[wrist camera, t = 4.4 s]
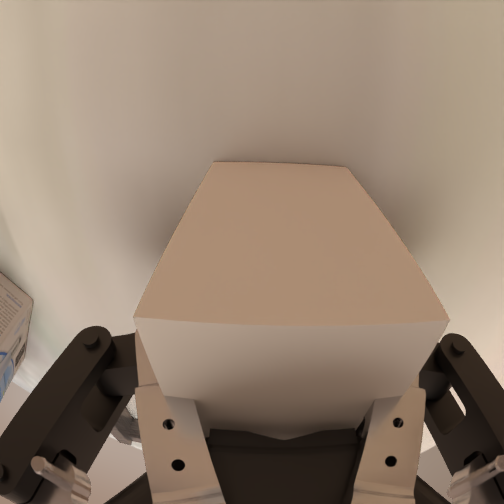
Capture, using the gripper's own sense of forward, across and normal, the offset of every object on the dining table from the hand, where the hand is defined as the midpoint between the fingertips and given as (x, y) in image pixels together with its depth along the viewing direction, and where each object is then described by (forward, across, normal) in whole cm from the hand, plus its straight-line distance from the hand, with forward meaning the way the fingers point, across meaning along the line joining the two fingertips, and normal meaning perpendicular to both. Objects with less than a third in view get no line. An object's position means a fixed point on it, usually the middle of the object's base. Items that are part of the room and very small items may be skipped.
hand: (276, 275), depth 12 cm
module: (+2, 0, 0) cm, 2 cm away
